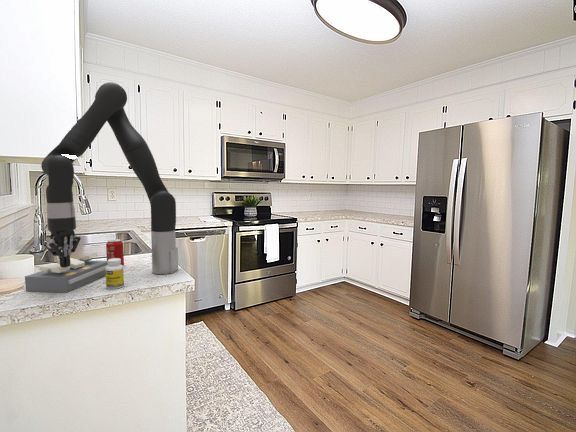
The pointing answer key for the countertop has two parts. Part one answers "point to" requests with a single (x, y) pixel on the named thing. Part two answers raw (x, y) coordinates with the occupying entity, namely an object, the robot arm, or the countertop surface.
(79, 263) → the rocker
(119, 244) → the beverage can
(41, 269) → the rocker
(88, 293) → the countertop surface
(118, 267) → the supplement bottle
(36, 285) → the console
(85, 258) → the rocker
